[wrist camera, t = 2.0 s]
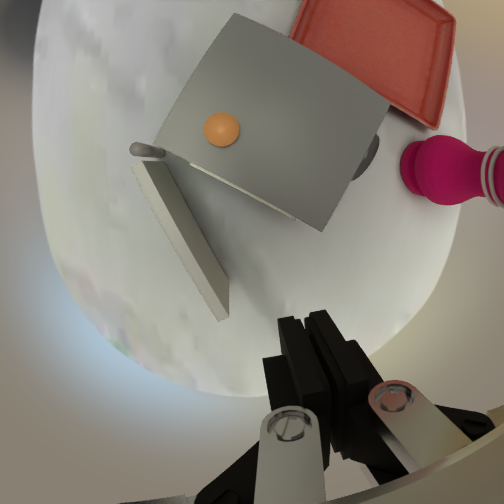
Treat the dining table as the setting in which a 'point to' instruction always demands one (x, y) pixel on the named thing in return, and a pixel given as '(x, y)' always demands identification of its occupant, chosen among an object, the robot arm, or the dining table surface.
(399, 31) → the plant saucer
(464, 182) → the pepper mill
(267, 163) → the camera case
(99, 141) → the dining table surface
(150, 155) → the side door
